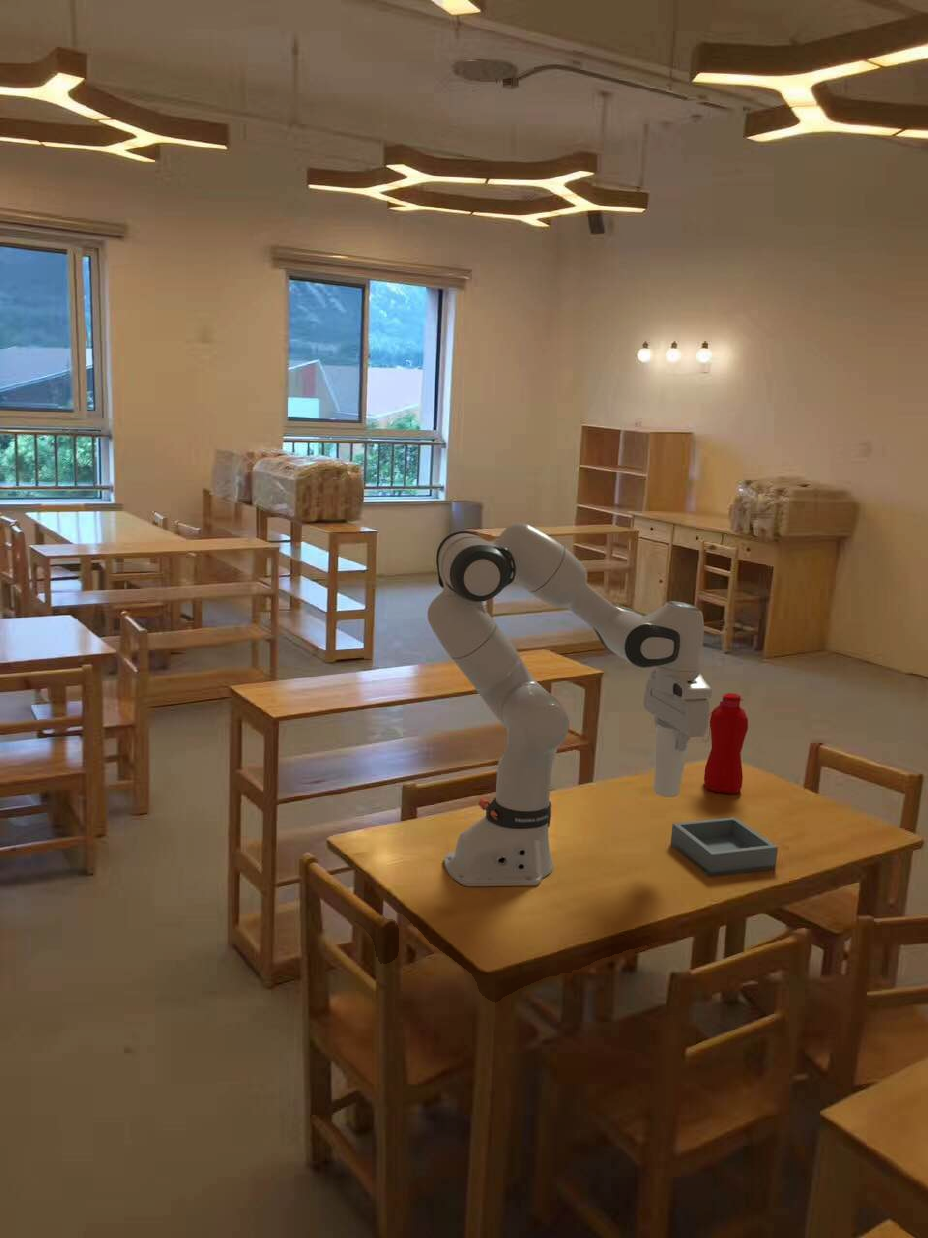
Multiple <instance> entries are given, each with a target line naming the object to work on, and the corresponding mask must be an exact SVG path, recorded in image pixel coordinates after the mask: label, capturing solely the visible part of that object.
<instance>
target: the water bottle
mask: <svg viewBox="0 0 928 1238" xmlns="http://www.w3.org/2000/svg"><path fill="white" fill-rule="evenodd" d="M742 701H743V699H742V697H741V695H739V694H738V693H733V692H732V693H731V692H727V693H724V694H723V696H722V701H720V702H719V705H717V706H716V707H715V708H714V709H713V710H712V711H711V712H709V716H710V719H709V731H708V735H710V736H708V738H707V739H706V740H704V739H703V738H701V739H702V741H703V742H704V743H707V742H708V741H709V738H711V739H710V740H711V750H710V752H709V755H708V759H707V761H706V764H705V766H704V774H703V775H704V777H703V781H704V783H703V784H704V786H705V788H706V789H707V790H708V791H711V792H712V793H721V794H722V793H724V794H730V795H731V794H732V795H734V794H737V793H739V792H741V790H742V787H743V780H744V775H743V765H742V755H741V754H742V753H741V752H742V749H743V745H744V742H745V739H746V735H747V733H748V730H749V718H748V716H747V714H746V710H745V709H744V708H743V707H741V705H740V704H741V702H742Z"/></svg>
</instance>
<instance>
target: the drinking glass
mask: <svg viewBox="0 0 928 1238" xmlns="http://www.w3.org/2000/svg"><path fill="white" fill-rule="evenodd" d="M679 738H680V735H679V730H678V729H676V728H674V727H673V726H671V725H669V724H668V723H666V722H665V721H660V722H658V723H657V728H656V729H655V737H654V780H653V782H654V783H653V792H654V793H655V794H656V795H657V796H660V797H664V798H674V797H677V796H679V795H680V790H681V784H682V783H681V782H682V778H683V773H684V767H685V764H686V763H685V762H686V758H687V751H688V745H689V741H688V742H687V747H686V750H685V751H679V750H677V749H676V748H675V747H676V741H678V740H679Z"/></svg>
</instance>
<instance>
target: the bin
mask: <svg viewBox="0 0 928 1238" xmlns="http://www.w3.org/2000/svg"><path fill="white" fill-rule="evenodd" d="M670 846H672V847H673V848H674V849H675V850H676V851H678V852H679V853H680V854H682V856H684V857H685V858H686V859H688V861H690V862H691V863H692V864H694V865H695V867H697V868H698V869H699V870H701V871H702V872H703V873H704V874H706V875H707V876H708V877H710V878H712V877H713V878H714V877H720V876H728V875H730V876H731V875H737V874H747V873H754V872H755V873H756V872H761V871H762V872H763V871H772V870H776V869H777V861H778V860H777V859H778V850H779V847H778V846H777V845H775V843H773V842H772V841H770V840H769V839H767V838H766V837H765V836H762V835H761V834H760V833H758V832H757V831H755V829H753V828H751V827H750V826H748V825H747V824H745V822H743V821H741V820H740V819H738V817H736V816H735V817H733V816H731V817H724V818H723V817H722V818H715V819H713V818H712V819H705V820H704V819H703V820H694V821H685V822H683V821H682V822H675V823H674V822H673V823H672V825H671V836H670ZM771 869H772V870H771Z"/></svg>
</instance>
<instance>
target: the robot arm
mask: <svg viewBox="0 0 928 1238" xmlns="http://www.w3.org/2000/svg"><path fill="white" fill-rule="evenodd" d="M435 558H436V560H435V561H436V570H437V571H436V572H437V579H438V585H439V586H440V587H441V588H442V591H441V592H440V593H439V594H438V595H437V596H436V597H435V598H433V600H432V602H431V603H430V605H429V607H428V610H427V621H428V623H429V625H430V628H431V629H432V631H433V633H434V635H435V636H436V638H437V640H438V641H439V643H440V645H441V646H442V648H443V649H444V650H445V652H446V653H447V654H448V656H449V657H450V658H451V660H452V661H453V662H454V663H455V665H456V666H457V667H458V668H459V670H460V671H461V673H462V674H463V675H464V676H465V677H466V679H467V681H469V682H470V683H471V685H472V686H473V687H474V689H475V691H476V692H477V693H478V694H479V696H480V697H481V698H482V700H483V702H484V703H485V705H487V708H489V710H490V711H491V712H492V713H493V715H494V716H495V718H497V720H498V721H499V722H500V723H501V724H502V725H503V726H504V727H505V728H506V732H507V733H506V734H507V738H506V745H505V748H504V751H503V754H502V757H501V758H500V759H499V760H498V762H497V768H496V782H495V784H496V785H495V786H496V787H495V797H494V798H493V800H492V801H491V802H490V801H489V800H488V799H487V798H485V797H482V798H480V799H479V800H478V806H479V807H480V808H481V809H482V810H483V811H486V812H485V816H484V817H482V818H481V819H480V820H478V821H477V822H475V823H474V824H472V826H470V827H469V828H466V829H465V830H464V831H462V832H461V833H460V834H459V837H458V840H457V843H456V846H455V851H450V852H447V853H446V854H445V857H444V861H443V863H444V864H443V865H444V868H445V870H446V872H447V873H448V875H450V877H451V878H452V879H453V880H455V881H456V882H458V883H459V884H461V885H463V886H465V887H495V886H496V887H499V886H500V887H502V886H511V887H512V886H537V885H540V884H541V882H542V880H543V878H545V877H547V876H548V875H549V874H550V873H552V871H553V868H554V865H553V860H552V856H551V851H550V850H551V849H550V840H549V839H550V837H549V828H550V825H551V818H552V803H551V801H550V798H551V782H552V771H553V766H554V765H553V764H554V762H555V758H556V755H557V751H558V748H559V746H560V745H561V744H562V743H563V742H564V741H565V740H566V737H568V733H569V731H570V721H569V717H568V714H567V712H566V710H565V709H564V706H563V705H562V703H561V702H560V700H558V698H556V697H555V696H554V695H552V694H551V693H550V692H549V691H547V689H545V688H544V687H543V686H542V685H541V684H540V683H539V682H538V681H537V680H536V679H535V677H534V676H533V675H532V673H531V672H530V670H529V669H528V668H527V666H526V664H525V663H524V661H523V659H522V658H521V656H520V654H519V652H518V651H517V649H516V648H515V647H514V645H513V644H512V643H511V641H510V640H509V639H508V637H507V636H506V635H505V633H504V632H503V630H501V628H500V627H499V625H498V624H497V622H495V620H494V619H493V618H492V616H491V615H490V614H489V612H488V611H487V609H486V608H485V606H484V603H483V602H486V601H489V600H491V599H493V598H494V597H496V596H498V595H499V594H500V593H501V592H502V590H504V589H505V588H506V587H507V586H510V584H512V583H513V582H515V583H517V584H518V585H519V586H521V587H523V589H525V590H526V591H528V592H529V593H530V594H531V595H533V596H534V597H536V598H537V599H539V600H541V601H542V602H544V603H546V604H548V605H551V606H552V607H554V608H556V609H558V608H559V609H560V608H566V609H567V610H569V611H571V612H572V613H573V614H575V615H576V616H577V617H579V618H580V619H581V620H583V621H584V622H585V623H586V624H588V625H589V626H590V627H592V629H593V630H594V632H595V634H596V635H597V638H598V639H599V642H600V643H601V645H602V646H603V647H604V648H605V650H606V651H608V652H610V653H612V654H613V655H616V656H618V657H620V658H621V659H623V660H624V661H626V662H627V663H629V664H631V665H633V666H635V667H637V668H644V669H645V668H652V667H655V669H653V671H652V672H651V673H650V676H649V678H648V679H647V682H646V683H645V689H644V695H643V708H644V710H645V711H647V712H648V713H649V714H652V715H653V716H654V719H653V720H654V725H655V727H656V728H657V723H658V722H660V721H665V722H666V723H668V724H669V725H671V726H673V727H674V728H676V729H678V730H679V735H680V738H679V740H678V741H676V747H675V748H676V749H677V750H679V751H685V750H686V747H687V742H688V743H689V741H690V740H691V738H698V737H699V738H701V737H704V736H705V734H706V733H707V730H708V726H709V725H708V724H709V720H710V719H709V717H710V715H709V714H710V704H709V699H711V698H712V695H713V689H712V687H710V686H709V684H708V683H707V681H706V680H705V679H704V677H703V676H702V674H701V662H700V656H701V653H702V650H703V645H704V635H705V634H704V633H705V631H704V630H705V629H704V628H705V624H704V615H703V612H702V611H701V609H700V608H698V607H696V606H694V605H692V604H690V603H689V604H688V603H685V602H682V601H678V600H677V601H675V600H673V601H672V600H670V601H666V602H665V604H664V605H663V606H662V607H660V608H659V609H657V610H656V611H653V612H652V613H649V614H647V615H646V614H645V615H644V616H643V615H641V614H639V612H637V611H635V610H634V609H632V608H629V607H625V606H618V605H615V604H612V602H611V601H608V600H607V599H606V598H605V597H604V596H603V595H601V594H600V593H598V592H597V591H596V590H595V589H593V588H592V587H591V586H590V585H589V584H588V572H587V569H586V567H585V566H584V564H582V561H580V560H579V559H578V558H577V557H576V556H575V555H574V553H572V552H571V551H570V550H569V549H567V547H565V546H563V545H562V544H561V543H560V542H558V541H557V540H555V539H554V538H553V537H551V536H550V535H548V534H547V533H545V532H543V531H542V530H540V529H538V528H535V527H533V526H532V525H530V524H527V523H525V522H516V523H514V524H512V525H511V524H510V526H508V527H507V528H505V529H504V530H503V531H502V532H501V533H500V535H499V536H498V537H497V538H495V539H493V540H485V538H482V537H481V536H479V535H478V534H476V533H474V532H472V531H467V530H461V531H460V530H458V531H455V532H453V533H450V534H448V535H447V536H445V537H444V538H443V539H442V541H440V543H439V545H438V548H437V550H436V557H435ZM687 748H688V747H687Z"/></svg>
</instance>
